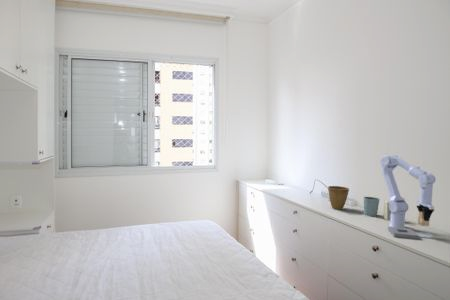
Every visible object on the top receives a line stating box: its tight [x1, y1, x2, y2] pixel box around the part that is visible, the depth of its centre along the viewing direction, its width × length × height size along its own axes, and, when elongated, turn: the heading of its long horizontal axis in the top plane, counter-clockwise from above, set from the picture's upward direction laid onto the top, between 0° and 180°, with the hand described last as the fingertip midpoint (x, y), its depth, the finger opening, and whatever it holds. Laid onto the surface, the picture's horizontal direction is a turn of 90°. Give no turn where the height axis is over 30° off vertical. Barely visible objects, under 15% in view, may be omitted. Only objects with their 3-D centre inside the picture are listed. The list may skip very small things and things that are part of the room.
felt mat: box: [414, 231, 436, 240], centre depth 179 cm, size 9×9×1 cm
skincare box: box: [383, 200, 392, 221], centre depth 213 cm, size 6×4×12 cm
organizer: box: [387, 226, 420, 240], centre depth 180 cm, size 14×12×2 cm
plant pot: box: [327, 185, 350, 211], centre depth 241 cm, size 15×15×16 cm
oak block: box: [417, 211, 430, 227], centre depth 178 cm, size 4×4×7 cm
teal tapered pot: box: [363, 196, 380, 217], centre depth 224 cm, size 10×10×12 cm
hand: (424, 219), depth 178 cm, fingers closed on oak block, 4 cm apart
